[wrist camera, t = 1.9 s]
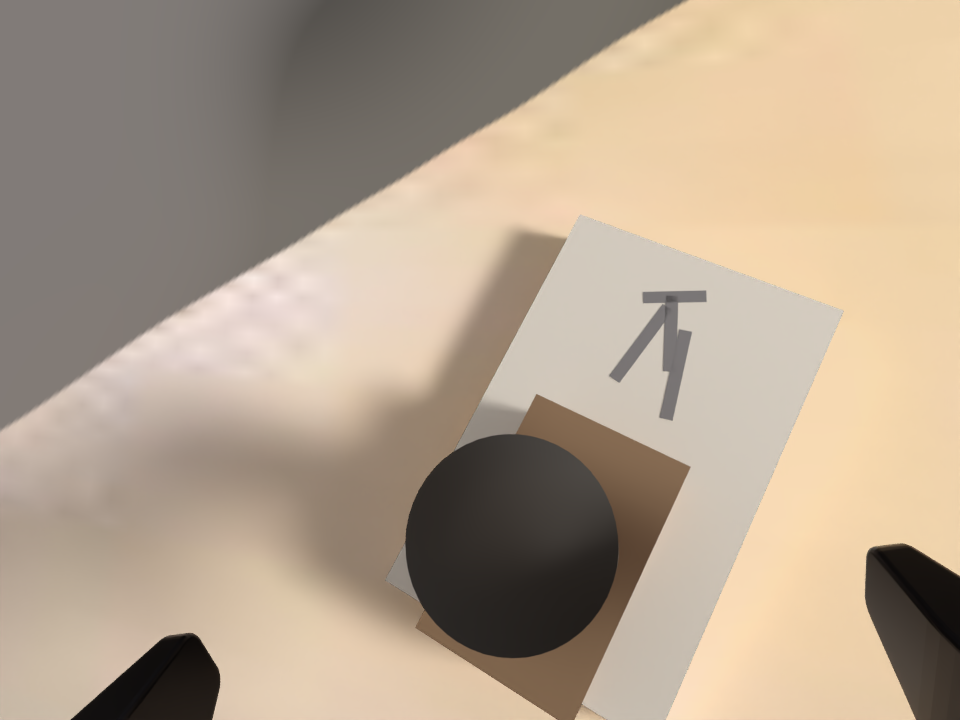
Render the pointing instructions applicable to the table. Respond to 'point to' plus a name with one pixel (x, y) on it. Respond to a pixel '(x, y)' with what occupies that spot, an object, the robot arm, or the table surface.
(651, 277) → the board
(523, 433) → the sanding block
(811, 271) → the table surface
